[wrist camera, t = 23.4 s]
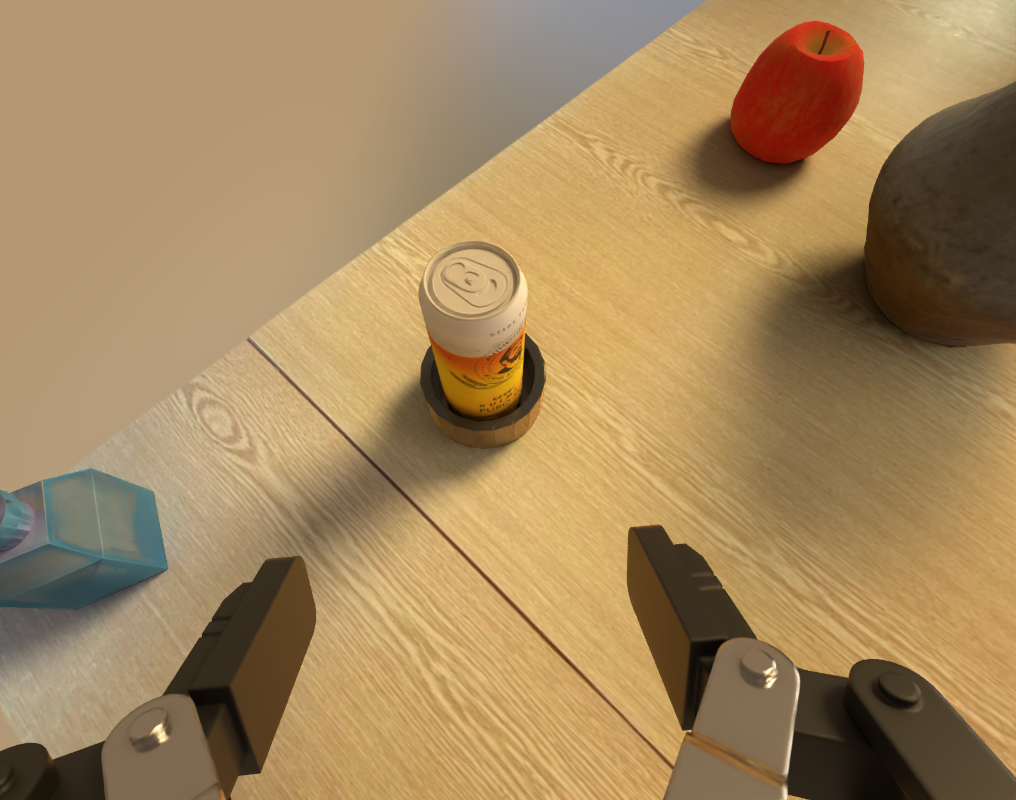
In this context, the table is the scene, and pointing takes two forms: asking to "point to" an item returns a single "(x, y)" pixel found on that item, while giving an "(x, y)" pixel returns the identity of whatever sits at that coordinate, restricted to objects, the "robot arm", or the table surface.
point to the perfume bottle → (76, 540)
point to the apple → (798, 93)
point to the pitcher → (949, 226)
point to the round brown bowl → (492, 430)
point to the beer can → (476, 327)
